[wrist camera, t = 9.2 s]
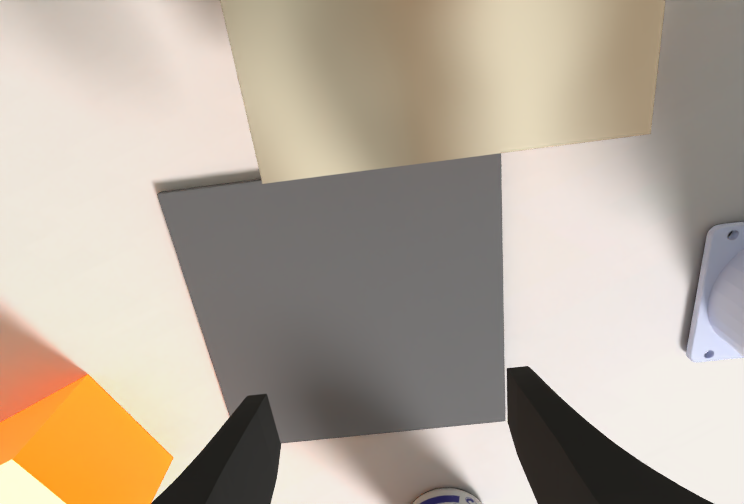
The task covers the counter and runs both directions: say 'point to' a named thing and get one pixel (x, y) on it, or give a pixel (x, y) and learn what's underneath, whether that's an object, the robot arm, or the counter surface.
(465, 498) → the energy drink
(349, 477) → the counter surface
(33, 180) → the counter surface
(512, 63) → the lid
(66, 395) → the orange juice
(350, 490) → the counter surface
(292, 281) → the mat
